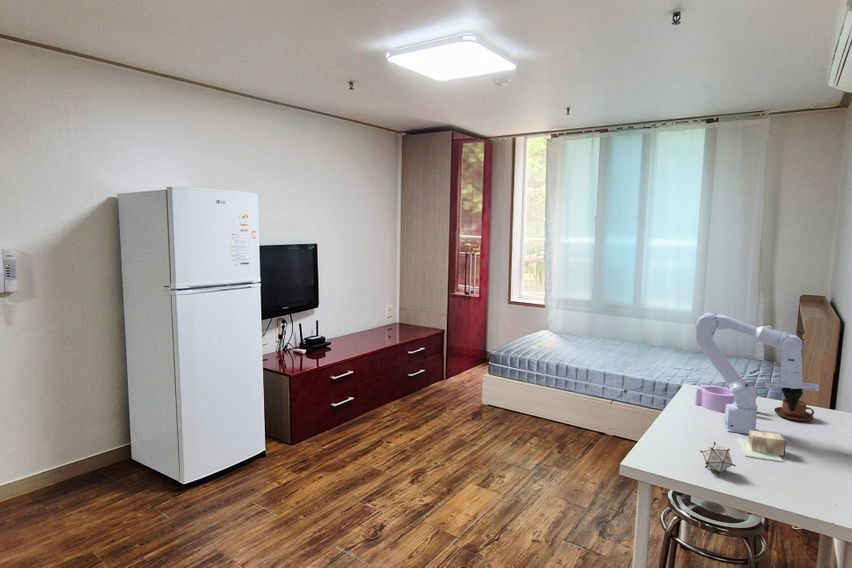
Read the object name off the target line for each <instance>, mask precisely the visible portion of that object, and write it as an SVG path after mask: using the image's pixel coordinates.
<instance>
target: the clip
mask: <svg viewBox="0 0 852 568" xmlns="http://www.w3.org/2000/svg"><path fill="white" fill-rule="evenodd" d="M694 396H695V398H694V400H695V401H694V405H695V406H700V407H702V408H704V409H706V410H710V411H713V412H718V413H725V408H726V404H733V403H734V401H735V400H734V395H733V394H732V392H731V390H730V388H728V387H725V386H724V387H723V386H720V385H718V386H717V385H704V384H699V388H698V387H696V388H695V395H694ZM755 404H756V405H757V401H756V402H755Z"/></svg>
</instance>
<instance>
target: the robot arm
mask: <svg viewBox="0 0 852 568" xmlns="http://www.w3.org/2000/svg"><path fill="white" fill-rule="evenodd" d="M694 328H695V337H696V344H697V345H698V347H699V348H700V349H701V350H702V351H703V353H704V354H705V356H706V357H707V358H708V360H709V361H710V362H711V364H712V365H713V367H715V369H716V371H718V373H719V375H720V376H721V377H722V378H723V380H724V381H725V382H726V384H727V385H728V387H729V389H730V390H731V392H732V394H733V395H734V400H735V401H734V403H733V404H726V408H725V412H724V422H723V424H724V426H725V428H726V430H727V432H730V433H738V434H745V435H749V430H752V431H758V430H757V429H756V428H757V427H756V426H757V418H758V417H757V415H758V405H757V397H758V395H759V393H758V390H757V389H756V387H754V386H753V385H751V384H750V383H748V382H747V380H745V378H743V377H742V376H741V375H740V373H738V371H737V370H736V368H735V367H734V365H732V363H731V362H730V360H729V359H728V357H726V356H725V354H724V352H723V351H722V350H721V349H720V348H719V346H718V345H717V343H716V342H715V341H714V337H715V332H716V330H717V329H718V330H719V331H720V330H725V329H730V330H733V331H736V332H740V333H743V334H747V335H749V336H752V337H754V339H755V341H756V342H759V343H761V344H765V345H768V346H770V347H773V348H775V349H781V357H780V371H781V373H780V378H781V379H780V380H781V381H765V388H766V389H768V390H769V389H774V390H775V389H777V390H780V391H781V392H782V393H783V396H784V399H786V401H787V404H788V408H789V410H790V411H795V409H796V405H797V403H798V401H799V400H800V399H801V398H802V396H803V395H804V392H803V391H814V392H819V391H820V386H819V384H818V383H808V382H803V358H802V355H803V353H802V350H803V342H802V339H801V338H800V337H799V336H798V335H795V334H794V333H788V332H787V331H784V332H783V331H779V330H777V329H773V327H772V326H771V325H767V326H765V325H761V326H759V327H758V326H755V325H751V324H749V323H746V322H744V321H741V320H738V319H736V318H733V317H731V316H729V315H725V314H722V313H716V312H714V311H706V312H705V313H703V314H702V315H701V316H699V317H698V319H697V321H696V323H695V327H694ZM755 402H756V404H755Z"/></svg>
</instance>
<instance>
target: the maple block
mask: <svg viewBox="0 0 852 568" xmlns="http://www.w3.org/2000/svg"><path fill="white" fill-rule="evenodd" d="M747 440H748V445H749V447H750V449H751V451H756V452H763V453H770V454H777V455H779V456H784V457H785V455H786V447H787V440H786V438H785V437H784V436H783V434H780V433H774V432H765V431H759V430H757V431H752V430H749V434H748V439H747Z"/></svg>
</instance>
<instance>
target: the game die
mask: <svg viewBox="0 0 852 568" xmlns="http://www.w3.org/2000/svg"><path fill="white" fill-rule="evenodd" d="M730 450H731V449H730V448H724V447H722V446H720V445H718V444H717V443H716V441H714V442H713V445H711V446H709V447H708V448H706V449H704V450H699V452H700V453H702V456H703V459H704V461H705V468H710V469H712V470H714V471H716V472H718V474H719V475H720V476H722V472H723V471H727V469H729V468H731V467H732V466H733V467H737V465H736V464H734V463H733V462H732V461H733V459H732V458H731V455H730V452H729V451H730ZM705 468H704V469H705Z"/></svg>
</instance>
